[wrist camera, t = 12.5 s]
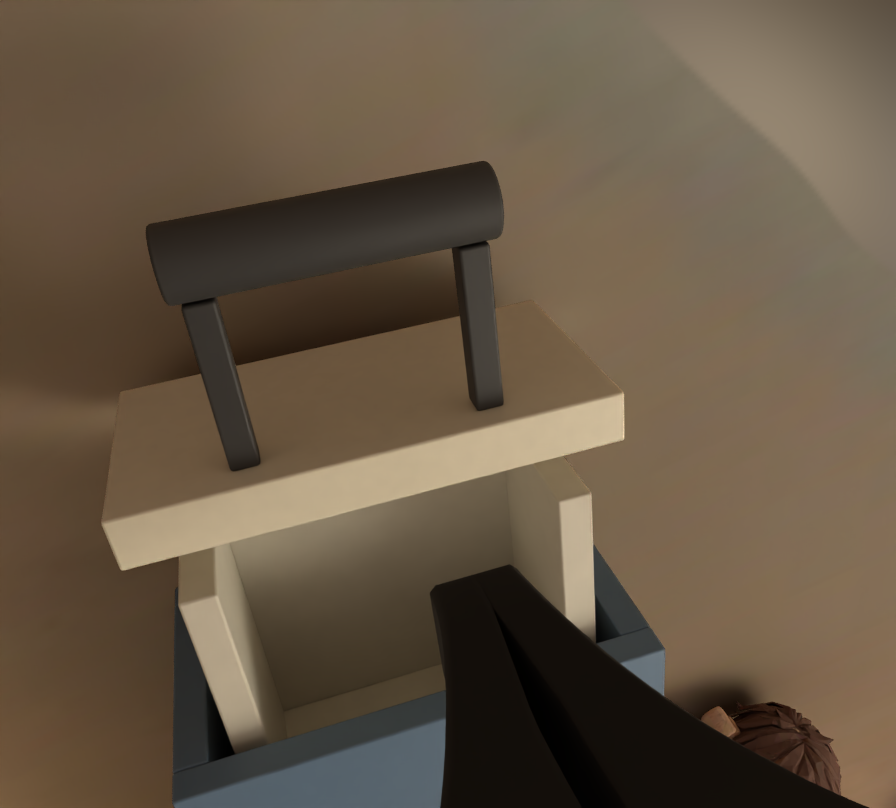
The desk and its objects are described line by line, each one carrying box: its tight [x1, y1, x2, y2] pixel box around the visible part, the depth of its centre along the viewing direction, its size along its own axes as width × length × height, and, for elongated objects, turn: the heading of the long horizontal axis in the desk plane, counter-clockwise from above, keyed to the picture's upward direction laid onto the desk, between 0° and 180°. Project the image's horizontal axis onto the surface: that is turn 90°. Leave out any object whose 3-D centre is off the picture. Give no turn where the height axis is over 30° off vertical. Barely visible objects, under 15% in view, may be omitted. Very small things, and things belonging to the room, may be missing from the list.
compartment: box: [172, 544, 665, 808], centre depth 25 cm, size 13×12×7 cm
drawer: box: [101, 161, 624, 754], centre depth 20 cm, size 16×10×5 cm, turn 7°
